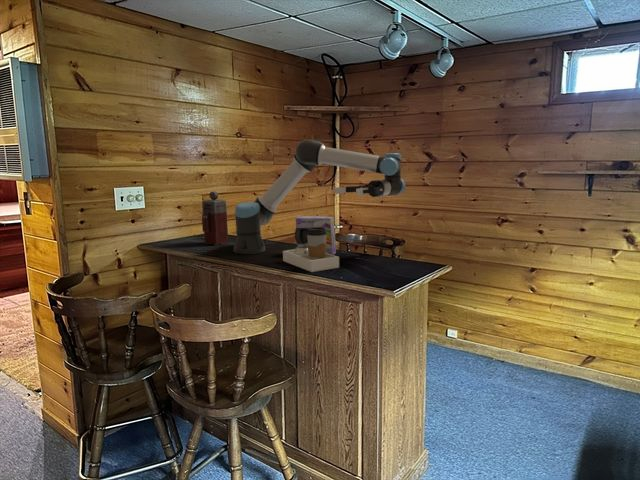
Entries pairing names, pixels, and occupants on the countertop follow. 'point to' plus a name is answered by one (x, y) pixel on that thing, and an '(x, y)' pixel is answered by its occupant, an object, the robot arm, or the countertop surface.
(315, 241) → the coffee cup
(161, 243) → the countertop surface
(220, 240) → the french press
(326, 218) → the cake pan box
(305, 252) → the metal tin
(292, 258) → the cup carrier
